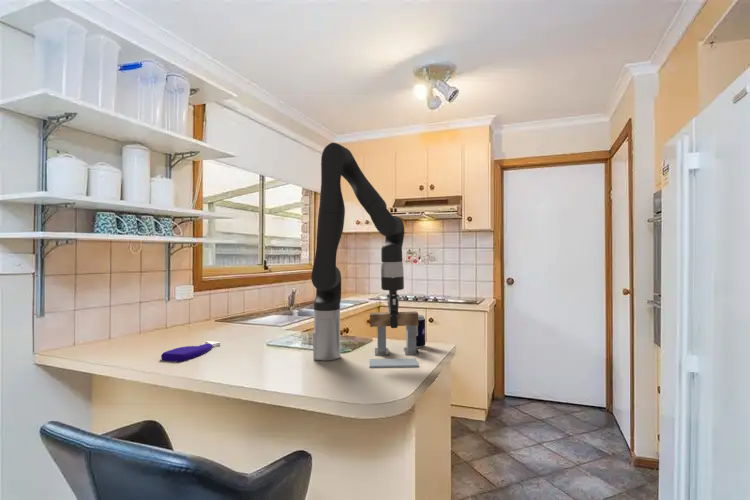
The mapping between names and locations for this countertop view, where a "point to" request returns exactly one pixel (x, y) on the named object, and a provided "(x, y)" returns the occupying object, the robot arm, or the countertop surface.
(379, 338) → the grey metal bracket
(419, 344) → the beverage can
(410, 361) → the mat
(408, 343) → the grey bracket
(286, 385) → the countertop surface
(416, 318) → the rail
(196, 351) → the purple flat tapered piece
